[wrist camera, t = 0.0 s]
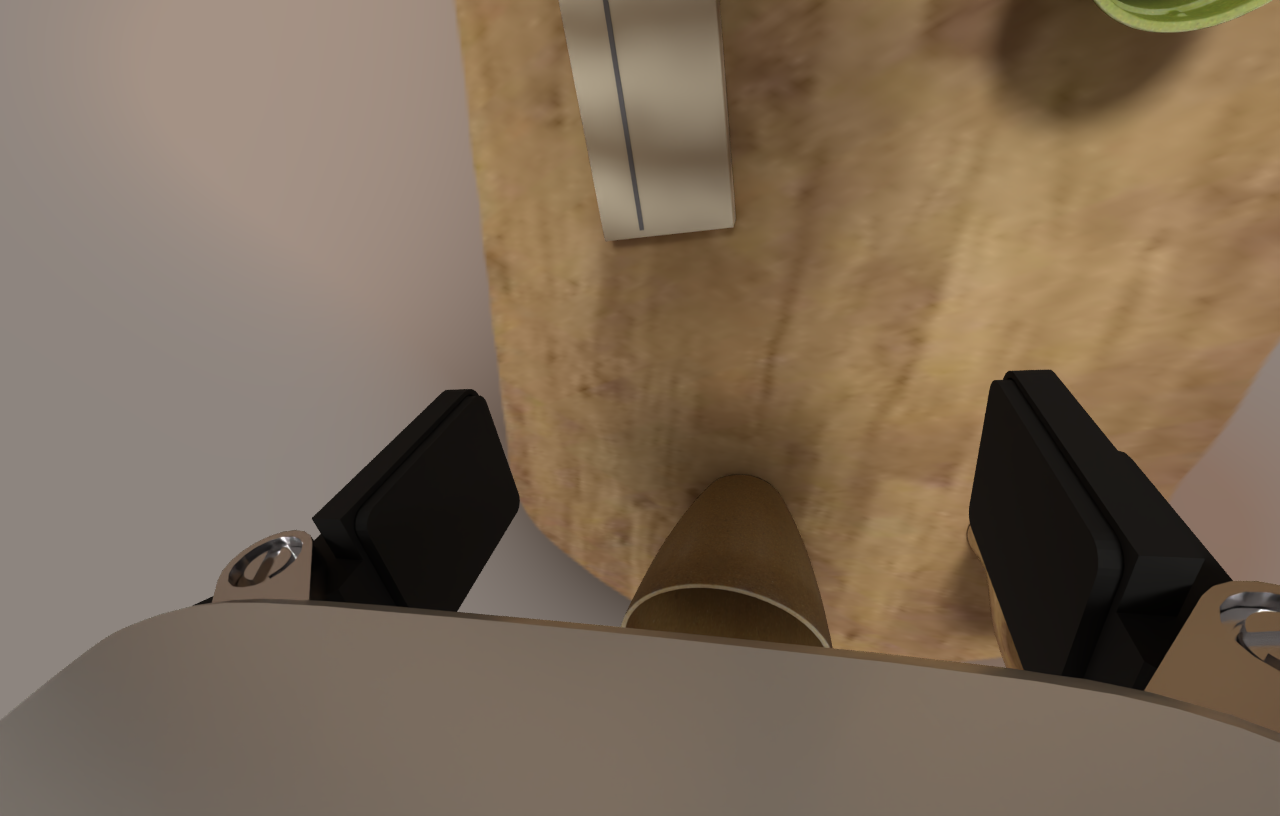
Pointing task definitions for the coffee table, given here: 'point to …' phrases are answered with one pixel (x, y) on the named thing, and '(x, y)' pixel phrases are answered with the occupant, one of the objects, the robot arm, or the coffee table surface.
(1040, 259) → the coffee table surface
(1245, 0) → the plant pot
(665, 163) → the board
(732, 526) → the plant pot
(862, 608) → the coffee table surface
